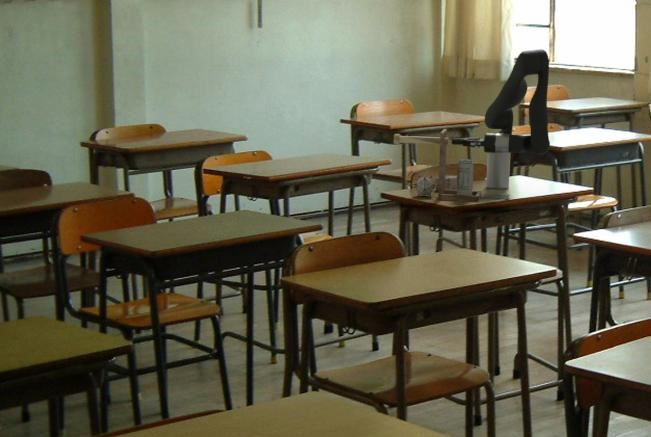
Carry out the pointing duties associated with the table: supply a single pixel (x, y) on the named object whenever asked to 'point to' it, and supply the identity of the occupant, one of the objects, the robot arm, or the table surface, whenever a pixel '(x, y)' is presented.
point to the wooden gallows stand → (442, 192)
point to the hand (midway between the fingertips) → (452, 141)
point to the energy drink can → (465, 177)
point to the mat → (496, 196)
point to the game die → (424, 186)
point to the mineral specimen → (447, 182)
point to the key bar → (418, 140)
